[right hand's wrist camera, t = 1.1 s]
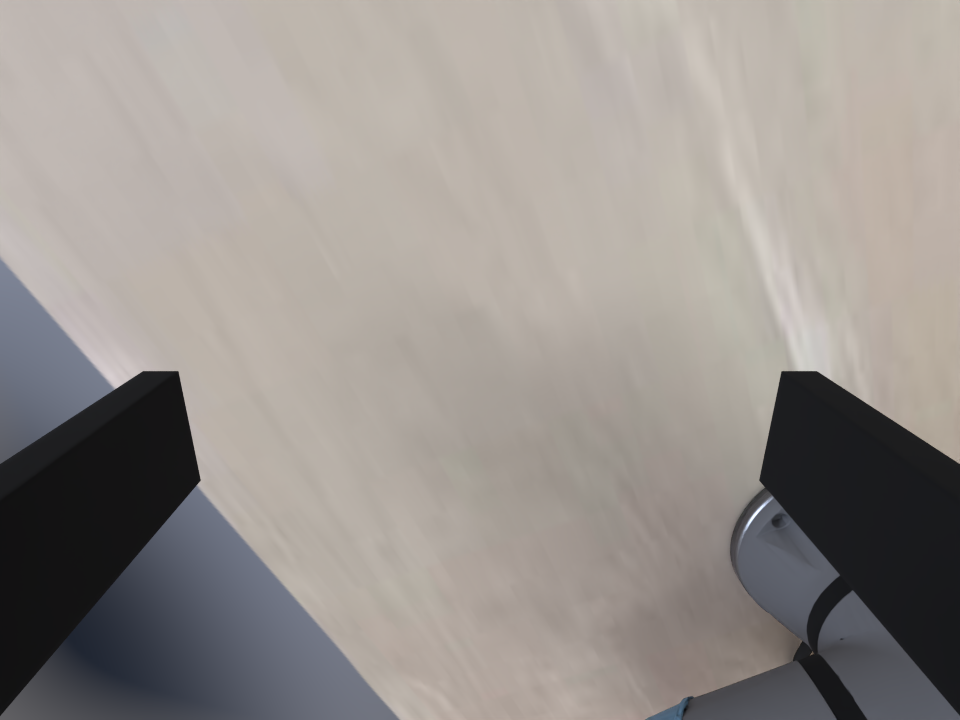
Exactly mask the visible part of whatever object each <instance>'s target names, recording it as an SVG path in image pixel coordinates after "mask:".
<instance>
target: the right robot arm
mask: <svg viewBox="0 0 960 720" xmlns="http://www.w3.org/2000/svg"><path fill="white" fill-rule="evenodd" d="M200 481H201V479H200V475H199V470H198V465H197V460H196V455H195V450H194V445H193V440H192V436H191V431H190V426H189V421H188V416H187V411H186V406H185V401H184V397H183V392H182V387H181V382H180V377H179V372H178V371H143V372H141V373H140V374H138V375H137V376H135V377H134V378H132V379H131V380H129V381H127V382H126V383H124V384H123V385H121V386H120V387H118V388H117V389H115V390H114V391H112V392H111V393H109V394H107V395H106V396H104V397H103V398H101V399H100V400H98V401H97V402H95V403H94V404H92V405H91V406H89V407H87V408H86V409H84V410H83V411H81V412H80V413H78V414H77V415H75V416H74V417H72V418H71V419H69V420H67V421H66V422H64V423H63V424H61V425H60V426H58V427H57V428H55V429H54V430H52V431H51V432H49V433H47V434H46V435H44V436H43V437H41V438H40V439H38V440H37V441H35V442H34V443H32V444H31V445H29V446H27V447H26V448H25V449H23V450H21V451H20V452H18V453H17V454H15V455H14V456H12V457H11V458H9V459H7V460H6V461H4V462H3V463H1V464H0V716H1V714H2V713H3V712H4V711H5V710H6V708H7V707H8V706H9V705H10V704H11V703H12V701H13V700H14V699H15V698H16V697H17V696H18V694H19V693H20V692H21V691H22V690H23V688H24V687H25V686H26V685H27V684H28V683H29V681H30V680H31V679H32V678H33V677H34V676H35V674H36V673H37V672H38V671H39V670H40V669H41V667H42V666H43V665H44V664H45V663H46V661H47V660H48V659H49V658H50V657H51V656H52V654H53V653H54V652H55V651H56V650H57V649H58V647H59V646H60V645H61V644H62V643H63V641H64V640H65V639H66V638H67V637H68V636H69V634H70V633H71V632H72V631H73V630H74V629H75V627H76V626H77V625H78V624H79V623H80V622H81V620H82V619H83V618H84V617H85V616H86V614H87V613H88V612H89V611H90V610H91V609H92V607H93V606H94V605H95V604H96V603H97V602H98V600H99V599H100V598H101V597H102V596H103V594H104V593H105V592H106V591H107V590H108V589H109V587H110V586H111V585H112V584H113V583H114V582H115V580H116V579H117V578H118V577H119V576H120V575H121V573H122V572H123V571H124V570H125V569H126V567H127V566H128V565H129V564H130V563H131V562H132V560H133V559H134V558H135V557H136V556H137V555H138V553H139V552H140V551H141V550H142V549H143V548H144V546H145V545H146V544H147V543H148V542H149V540H150V539H151V538H152V537H153V536H154V535H155V533H156V532H157V531H158V530H159V529H160V528H161V526H162V525H163V524H164V523H165V522H166V521H167V519H168V518H169V517H170V516H171V515H172V513H173V512H174V511H175V510H176V509H177V508H178V506H179V505H180V504H181V503H182V502H183V501H184V499H185V498H186V497H187V496H188V495H189V494H190V492H191V491H192V490H193V489H194V488H195V486H196V485H197V484H198V483H199V482H200ZM759 481H760V482H761V483H762V484H763V485H764V486H765V489H763V490H762V491H761V492H760V493H759V494H758V495H757V496H756V497H755V498H754V499H753V500H752V501H751V502H750V503H749V505H748V506H747V507H746V508H745V510H744V511H743V513H742V514H741V516H740V518H739V520H738V522H737V524H736V526H735V529H734V531H733V535H732V540H731V551H730V552H731V560H732V565H733V568H734V570H735V573H736V574H737V576H738V578H739V580H740V581H741V583H742V585H743V586H744V588H745V589H746V591H747V592H748V594H749V595H750V596H751V597H752V598H753V599H754V600H755V602H756V603H757V604H758V605H759V606H760V607H762V608H763V609H764V610H765V611H766V612H768V613H770V614H771V615H772V616H773V617H774V618H776V619H777V620H778V621H779V622H780V623H781V624H783V625H784V626H785V627H786V628H787V629H789V630H790V631H791V632H792V633H793V634H795V635H796V636H797V637H798V638H800V639H801V640H802V643H801V645H800V646H799V648H798V650H797V652H796V654H795V656H794V659H793V662H791V663H788V664H785V665H783V666H780V667H777V668H775V669H772V670H769V671H767V672H764V673H761V674H758V675H756V676H753V677H750V678H748V679H745V680H742V681H740V682H737V683H734V684H732V685H729V686H726V687H724V688H721V689H718V690H715V691H713V692H710V693H707V694H704V695H701V696H698V697H695V698H694V697H693V696H691V697H687V698H684V699H683V700H682V701H681V703H680V704H678V705H676V706H673V707H671V708H669V709H667V710H665V711H662V712H660V713H658V714H656V715H654V716H651V717H649V718H647V719H646V720H960V464H959V463H957V462H956V461H954V460H953V459H951V458H949V457H948V456H946V455H945V454H943V453H942V452H940V451H939V450H937V449H936V448H934V447H933V446H931V445H929V444H928V443H926V442H925V441H923V440H922V439H920V438H919V437H917V436H916V435H914V434H913V433H911V432H909V431H908V430H906V429H905V428H903V427H902V426H900V425H899V424H897V423H896V422H894V421H893V420H891V419H889V418H888V417H886V416H885V415H883V414H882V413H880V412H879V411H877V410H876V409H874V408H873V407H871V406H869V405H868V404H866V403H865V402H863V401H862V400H860V399H859V398H857V397H856V396H854V395H853V394H851V393H849V392H848V391H846V390H845V389H843V388H842V387H840V386H839V385H837V384H836V383H834V382H833V381H831V380H829V379H828V378H826V377H825V376H823V375H822V374H820V373H819V372H817V371H782V372H781V377H780V382H779V387H778V392H777V397H776V401H775V406H774V411H773V416H772V421H771V426H770V431H769V436H768V440H767V445H766V450H765V455H764V460H763V465H762V470H761V475H760V479H759ZM812 651H813V653H814V654H813V655H811V656H810V654H811V652H812Z"/></svg>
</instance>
